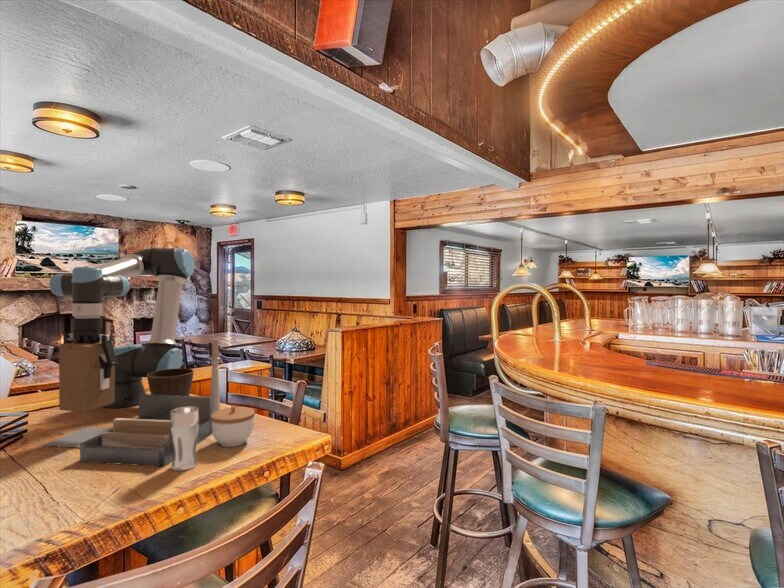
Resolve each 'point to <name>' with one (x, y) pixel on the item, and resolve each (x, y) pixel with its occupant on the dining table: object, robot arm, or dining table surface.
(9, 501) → the dining table surface
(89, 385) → the wooden block
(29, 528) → the dining table surface
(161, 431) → the offcut stack
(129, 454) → the rack
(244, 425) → the lidded bowl
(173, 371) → the plant pot
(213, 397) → the candlestick
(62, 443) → the mat
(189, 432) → the beer glass
